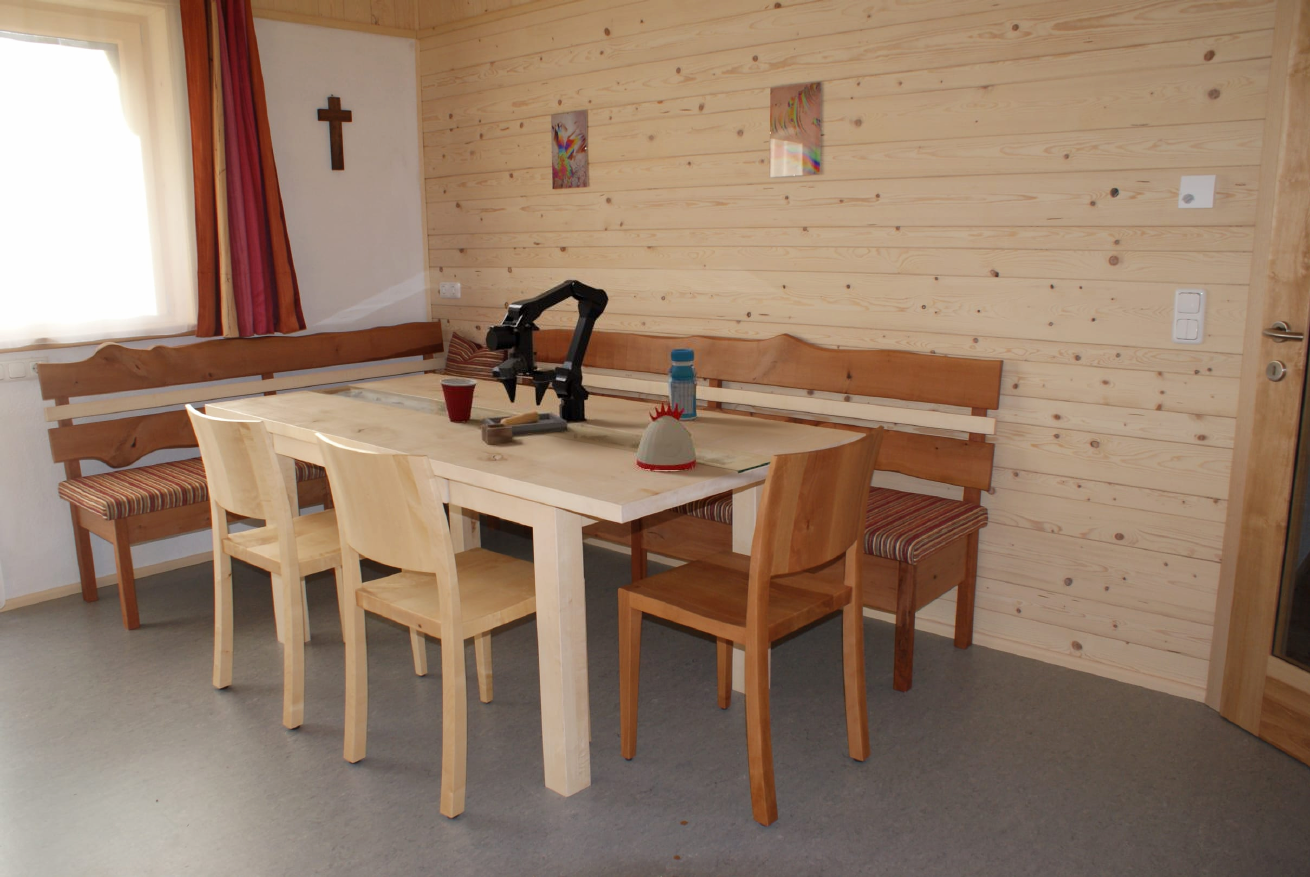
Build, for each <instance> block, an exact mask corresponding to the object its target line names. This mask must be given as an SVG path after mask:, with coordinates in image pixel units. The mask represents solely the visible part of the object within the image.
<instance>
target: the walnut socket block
mask: <svg viewBox="0 0 1310 877" xmlns="http://www.w3.org/2000/svg"><path fill="white" fill-rule="evenodd" d="M513 437H514V435H512V427H511V426H510V425H508V424H507V423H499V424H487V425H484V424H481V441H483V442H484V441H485V442H486V443H485V442H484V443H485V444H487V445H488V444H489V445H496V444H495V443H500V444H508V443H507V442H511V443H514V442H513V441H514V439H513Z"/></svg>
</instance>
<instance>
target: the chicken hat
mask: <svg viewBox="0 0 1310 877" xmlns="http://www.w3.org/2000/svg"><path fill="white" fill-rule="evenodd" d="M654 409H655V412H656V413H655V416H654V415H653V414H652V413H651V412H650V411H649V412H648V413H649V416H650V418H651V420H652V422H650V423H649V425H648V426H647V427H646V429H645V430H644V432H643V434H642V436H641V439H640V442H639V445H638V449H637V452H636V466H637V465H638V466H639V467H641V468H644V469H650V470H684V471H686V470H685V469H688V470H690V469H689V468H691V469H693V468H695V467H696V466H697V456H696V451H695V447H694V444H693V440H692V433H691V432H689V431H688V430H687V428H686V427H685V425H683V423H682V422H681V420H679V419H680V417H681V415H682V413H683V411H684V407H683V408H682V410H681V411H680V412H678V403H676V405H675V408H674V411H671V406H670V403H669V401H668V403H667V408H666V409H665V405H664V402H663V401H661V406H660V411H659V409H658V408H657V406H654ZM695 465H696V466H695ZM639 467H638V468H639ZM692 467H693V468H692Z"/></svg>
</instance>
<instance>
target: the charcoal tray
mask: <svg viewBox="0 0 1310 877" xmlns="http://www.w3.org/2000/svg"><path fill="white" fill-rule="evenodd" d="M538 414H539V421H537V422H534V423H530V424H522V425H510V426H511V427H512V436H520V434H521V435H531V434H541V433H552V432H565V431H568V422H567V421H565V420H564V419H562V418H560V416H558V415H557V414H555V413H553V412H542V413H538ZM518 415H519V414H518ZM518 415H517V414H516V415H505V416H494V417H493V416H491V417H484V418H483V420H482V421H483V425H487V424H499V423H500V422H501V420H502V419H505V418H510V417H514V416H518Z"/></svg>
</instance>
